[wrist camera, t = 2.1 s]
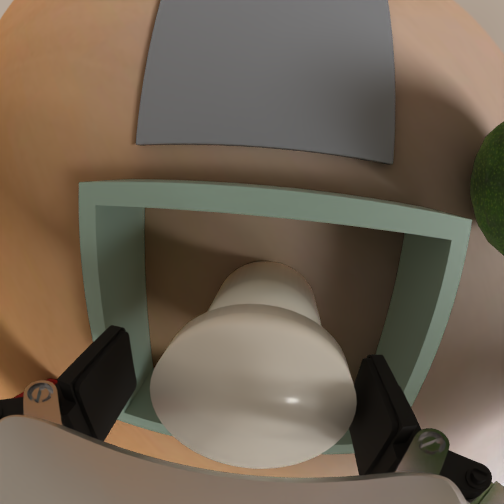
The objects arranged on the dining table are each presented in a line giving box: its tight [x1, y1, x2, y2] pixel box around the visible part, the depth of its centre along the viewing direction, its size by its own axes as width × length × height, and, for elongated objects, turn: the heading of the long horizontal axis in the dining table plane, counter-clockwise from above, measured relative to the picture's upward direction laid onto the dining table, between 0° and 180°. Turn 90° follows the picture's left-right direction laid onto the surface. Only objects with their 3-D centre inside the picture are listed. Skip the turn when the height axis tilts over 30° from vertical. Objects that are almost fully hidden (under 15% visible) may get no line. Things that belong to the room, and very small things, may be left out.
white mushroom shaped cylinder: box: [150, 261, 357, 469], centre depth 13 cm, size 7×7×9 cm
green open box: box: [79, 179, 472, 454], centre depth 14 cm, size 17×14×5 cm
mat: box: [136, 0, 395, 164], centre depth 13 cm, size 14×12×1 cm
